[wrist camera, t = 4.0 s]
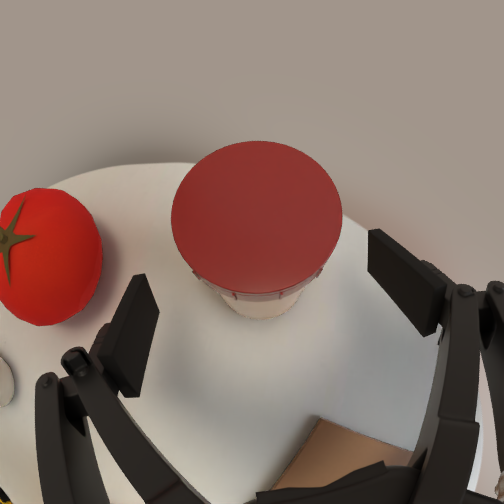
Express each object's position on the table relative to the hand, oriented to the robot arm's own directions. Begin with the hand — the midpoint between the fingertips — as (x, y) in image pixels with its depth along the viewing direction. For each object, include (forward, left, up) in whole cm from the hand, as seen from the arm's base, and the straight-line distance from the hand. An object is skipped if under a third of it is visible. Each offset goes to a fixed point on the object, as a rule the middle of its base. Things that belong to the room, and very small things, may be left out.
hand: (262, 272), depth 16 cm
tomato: (+17, +7, -8) cm, 20 cm away
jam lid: (+1, -2, +4) cm, 4 cm away
